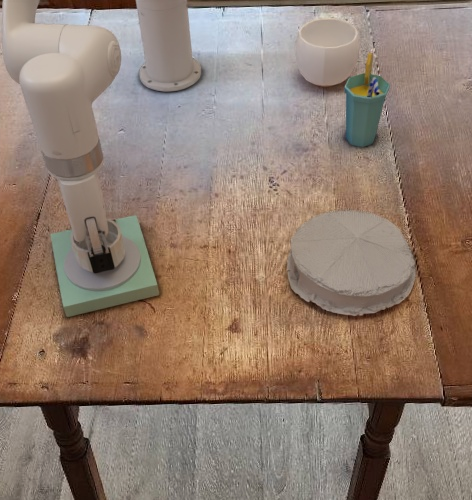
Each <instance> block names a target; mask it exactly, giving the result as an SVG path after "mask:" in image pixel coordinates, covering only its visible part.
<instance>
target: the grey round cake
mask: <svg viewBox="0 0 472 500" xmlns="http://www.w3.org/2000/svg"><path fill="white" fill-rule="evenodd" d="M289 243H290V250H289V253H288V257H287V260H286V261H287V262H286V266H287V267H286V269H287V270H286V272H287V278H288V279H287V280H288V282H289V285H290V288H291V290H292V291H293V292H294V293H295V294H298V296H299V297H300V298H301V299H303V300H304V301H305V302H307V303H310V302H311V303H314V304H315V305H317V307H320V308H321V309H322V310H326V311H327V312H331V313H334V314H339V315H345V316H353V317H356V316H359V317H361V316H364V314H375V313H377V312H380V311H382V310H386V308H387V309H389V308H392V307H393V306H395V305H399V304H400V303H401V302H403V301H404V300H405V299H406V298H407V297H408V296H410V293H411V291H412V290H413V287H414V284H415V280H416V275H417V273H416V270H417V267H416V260H415V259H414V255H413V252H412V250H411V247H410V245H409V242H408V240H407V239H406V237H405V235H404V233H403V232H402V230H401V229H400V228H399V227H398V226H397V225H395V224H394V222H392V221H390V220H388V218H385V217H383V216H381V215H379V214H376V213H374V212H371V211H370V212H369V211H365V210H364V209H359V208H358V209H357V210H355V209H353V208H350V207H349V208H348V207H346V209H342V210H339V209H337V210H335V208H334V210H333V211H332V210H330V209H329V210H327V211H326V212H320V213H317V214H314V216H313V217H311V218H310V219H309V220H306V221H304V222H303V223H302V224H301V225H300V226H299V227H298V228H297V229H296V230H295V232H294V233H293V235H292V237H291V240H289Z"/></svg>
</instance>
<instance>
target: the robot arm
mask: <svg viewBox="0 0 472 500" xmlns="http://www.w3.org/2000/svg"><path fill="white" fill-rule="evenodd" d="M40 1H41V0H2V5H1V6H2V7H1V51H2V58H3V63H4V66H5V69H6V72H7V74H8V75H9V76H10V78H11V79H12V80H13V81H14V82H15V83H16V84H18V85H19V86H20V89H21V93H22V96H23V99H24V101H25V105H26V109H27V111H28V115H29V118H30V120H31V124H32V127H33V130H34V133H35V136H36V140H37V143H38V145H39V149H40V152H41V156H42V159H43V162H44V165H45V168H46V171H47V173H48V174H49V175H50V176H51V177H53V178H54V179H56V180H57V183H58V187H59V190H60V195H61V197H62V201H63V204H64V208H65V211H66V214H67V217H68V221H69V224H70V229H72V232H73V235H74V239H75V240H76V241H77V242H80V241H84V239H85V240H86V244H87V248H88V251H89V252H87V253H88V257H89V260H90V264H91V267H92V270H93V273H100V272H105V271H109V270H113V269H114V268H115V266H114V262H113V258H112V254H111V250H110V247H108V246H107V242H106V238H105V236H106V235H107V234H108V232H109V231H108V223H107V219H108V218H107V211H106V205H105V199H104V193H103V190H102V189H103V188H102V185H101V180H100V176H99V171H100V170H101V169H102V167H103V165H104V162H105V156H104V152H103V148H102V144H101V139H100V135H99V131H98V126H97V123H96V118H95V114H94V110H93V103H94V102H95V101H96V100H97V99H98V98H99V97H100V96H101V95H102V94H103V93H104V92H105V91H106V90H107V89H108V88H109V87H110V86H111V84H112V83H113V82H114V81H115V79H116V77H117V76H118V74H119V73H120V70H121V65H122V51H121V46H120V43H119V41H118V39H117V37H116V35H115V34H114V32H112V31H111V30H109V29H108V28H106V27H103V26H99V25H89V24H88V25H87V24H67V23H40V22H39V23H36V15H37V10H38V6H39V4H40ZM135 4H136V5H135V6H136V11H137V17H138V23H139V25H138V26H139V30H140V37H141V44H142V49H143V50H142V51H143V55H144V56H143V57H144V63H143V64H142V65H141V66H140V67H139V71H138V74H139V81H140V82H141V83H142V84H143V86H145V87H147V88H149V89H151V90H154V91H157V92H166V93H167V92H176V91H182V90H185V89H187V88H189V87H192V86H193V85H195V84H196V83H197V82H198V81H199V80H200V78H201V75H202V67H201V64H200V62H199V61H198V60H197V59H196V58H194V57H193V50H192V40H191V30H190V29H191V28H190V19H189V18H190V17H189V7H188V0H135ZM97 227H99V228H100V230H101V231H98V230H97ZM87 229H88V232H89V233H88V234H87V233H86V230H87ZM99 237H102V241H103V245H104V246H103V245H101V242H100V238H99ZM89 239H90V240H91V244H92V247H91V244H90V240H89Z"/></svg>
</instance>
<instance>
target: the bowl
mask: <svg viewBox="0 0 472 500" xmlns="http://www.w3.org/2000/svg"><path fill="white" fill-rule="evenodd" d="M113 220H114V219H110V218H107V223H108V231H109V232H108V234H107V235H106V236H105V238H106V242H107V246H108V247H110V250H111V254H112V258H113V262H114V266H115V267H117V266H118V265H119V264H120V263H121V261H122V260H123V259H124V256H125V247H124V243H123V238H122V234H121V230H120V226H119V225H118V224H117V223H116V222H115V221H113ZM97 230H98V231H101V230H100V228H99V227H97ZM86 233H87V234H88V233H89V232H88V229H87V230H86ZM99 238H100V242H101V245H103V241H102V237H99ZM70 239H71V244H72V247H73V250H74V253H75V257H76V260H77V263H78V264H79V265H80V266H81V267H82V268H83V269H86V270H88V271H90V272H93V270H92V267H91V264H90V260H89V257H88V253H87V252H89V251H88V248H87V244H86V240H85V239H84V241H80V242H77V241H76V240H75V239H74V235H73V232H72V233H71V236H70ZM89 240H90V239H89ZM90 244H91V240H90ZM103 246H104V245H103ZM91 247H92V244H91ZM105 272H106V271H105Z"/></svg>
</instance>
